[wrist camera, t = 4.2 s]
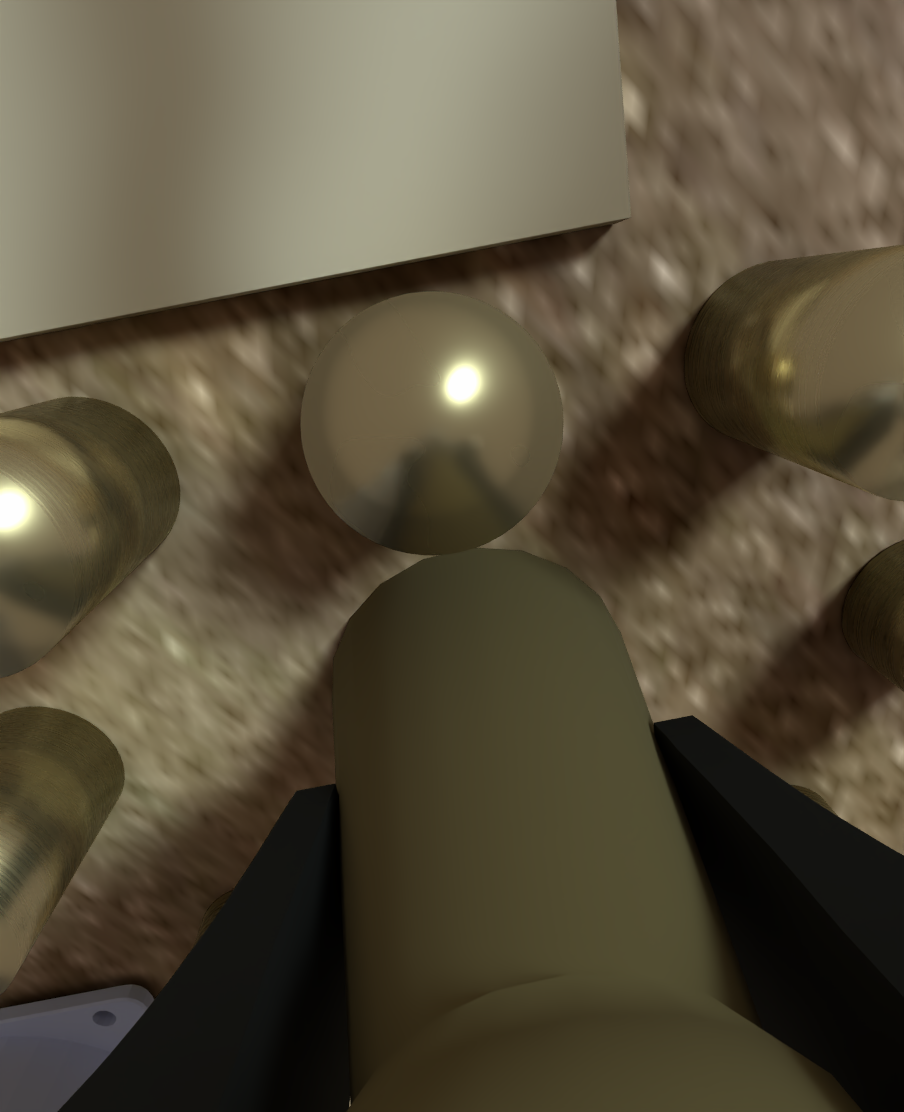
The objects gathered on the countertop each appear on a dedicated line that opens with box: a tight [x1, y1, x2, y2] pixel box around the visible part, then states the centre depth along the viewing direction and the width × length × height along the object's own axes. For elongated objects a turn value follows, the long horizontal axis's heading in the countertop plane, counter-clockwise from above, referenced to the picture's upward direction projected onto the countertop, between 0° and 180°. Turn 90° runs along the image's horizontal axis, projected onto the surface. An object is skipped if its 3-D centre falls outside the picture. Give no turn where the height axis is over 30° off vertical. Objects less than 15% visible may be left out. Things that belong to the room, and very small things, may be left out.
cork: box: [332, 548, 863, 1112], centre depth 8 cm, size 6×6×11 cm
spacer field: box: [0, 245, 904, 995], centre depth 11 cm, size 21×14×4 cm
